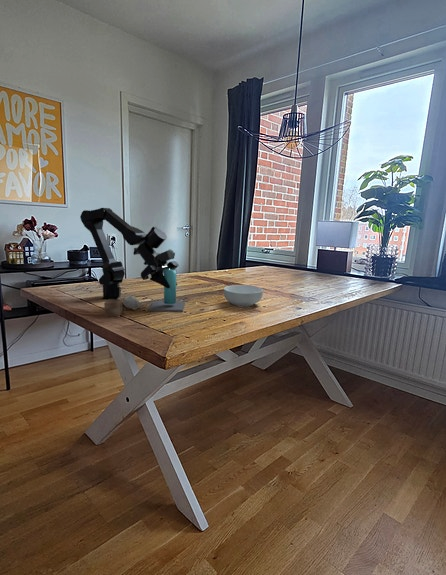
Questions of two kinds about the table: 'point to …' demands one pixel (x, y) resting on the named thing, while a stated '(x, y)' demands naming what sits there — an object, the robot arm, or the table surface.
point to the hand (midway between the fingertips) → (172, 286)
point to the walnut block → (113, 307)
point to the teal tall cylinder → (170, 292)
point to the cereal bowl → (243, 294)
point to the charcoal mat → (167, 306)
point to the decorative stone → (131, 302)
